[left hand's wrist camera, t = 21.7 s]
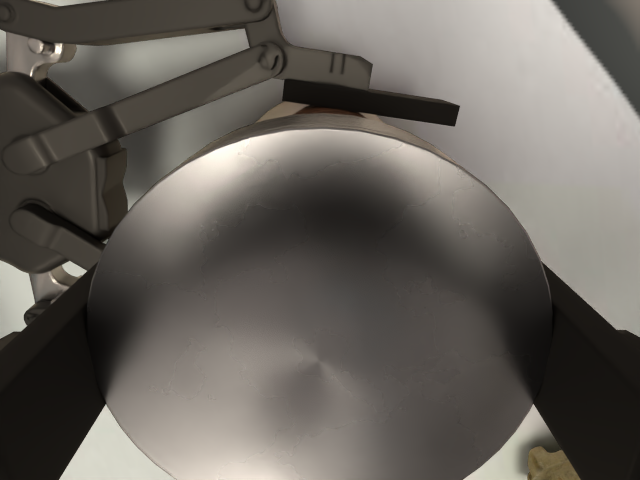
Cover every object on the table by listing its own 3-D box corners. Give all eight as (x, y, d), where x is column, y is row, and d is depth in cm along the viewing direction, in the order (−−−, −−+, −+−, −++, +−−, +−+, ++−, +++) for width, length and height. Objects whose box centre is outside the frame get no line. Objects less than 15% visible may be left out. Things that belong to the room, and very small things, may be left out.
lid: (526, 414, 14) (565, 482, 12) (205, 476, 15) (185, 549, 12) (488, 60, 10) (536, 60, 8) (59, 173, 11) (-6, 203, 9)
